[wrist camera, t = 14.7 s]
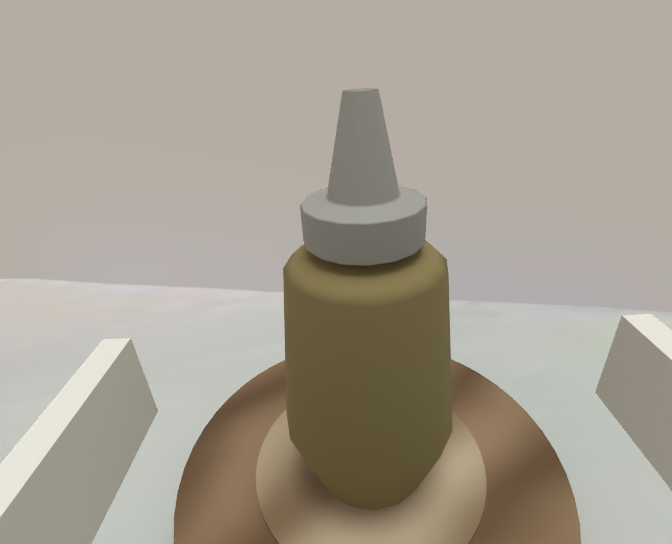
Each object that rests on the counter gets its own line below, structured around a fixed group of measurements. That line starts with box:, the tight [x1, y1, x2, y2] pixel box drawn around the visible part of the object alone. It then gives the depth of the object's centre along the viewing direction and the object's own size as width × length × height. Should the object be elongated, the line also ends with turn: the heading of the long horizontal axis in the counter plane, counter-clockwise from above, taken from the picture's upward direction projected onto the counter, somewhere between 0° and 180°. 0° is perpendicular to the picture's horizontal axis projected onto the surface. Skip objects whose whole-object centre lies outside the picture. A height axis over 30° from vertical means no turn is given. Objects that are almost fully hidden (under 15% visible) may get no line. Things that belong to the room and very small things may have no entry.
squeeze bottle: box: [283, 89, 453, 510], centre depth 17 cm, size 8×8×18 cm
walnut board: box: [174, 360, 581, 544], centre depth 22 cm, size 20×20×2 cm
